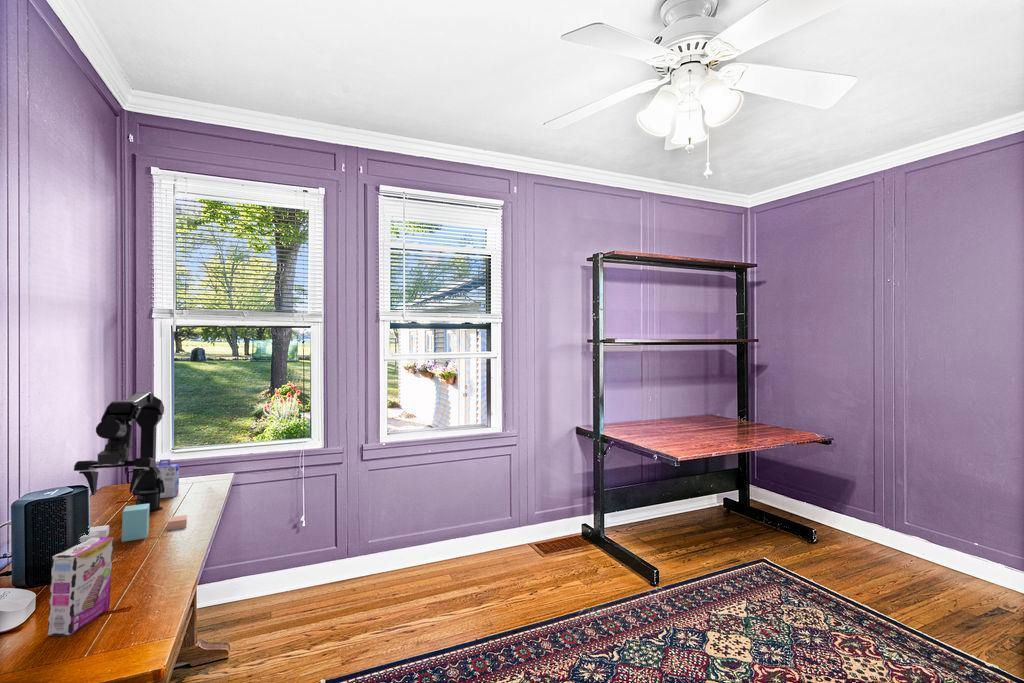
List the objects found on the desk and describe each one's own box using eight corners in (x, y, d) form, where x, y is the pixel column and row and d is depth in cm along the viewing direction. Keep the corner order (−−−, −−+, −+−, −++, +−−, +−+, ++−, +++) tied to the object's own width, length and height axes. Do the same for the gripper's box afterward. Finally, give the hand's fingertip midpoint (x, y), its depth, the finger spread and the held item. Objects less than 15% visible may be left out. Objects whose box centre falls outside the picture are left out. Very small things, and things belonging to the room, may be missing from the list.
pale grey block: (88, 540, 151) (88, 527, 151) (108, 537, 154) (109, 524, 154) (84, 546, 147) (84, 532, 147) (105, 543, 149) (106, 530, 150)
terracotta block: (168, 529, 162) (169, 517, 162) (186, 527, 164) (187, 515, 164) (167, 534, 157) (167, 521, 157) (185, 531, 160) (186, 519, 160)
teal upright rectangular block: (124, 535, 152) (125, 506, 152) (148, 531, 155) (149, 503, 155) (121, 541, 147) (122, 511, 147) (146, 538, 150) (147, 508, 150)
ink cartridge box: (179, 493, 201) (180, 458, 201) (175, 497, 196) (177, 460, 196) (150, 495, 197) (151, 459, 198) (145, 499, 192) (147, 462, 192)
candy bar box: (72, 636, 101) (75, 556, 102) (46, 637, 101) (49, 556, 101) (111, 608, 112) (114, 536, 113) (88, 608, 112) (91, 536, 112)
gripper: (69, 440, 141) (60, 497, 137) (147, 437, 148) (140, 491, 144) (85, 443, 151) (78, 496, 147) (158, 440, 158) (152, 491, 154)
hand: (112, 493), depth 148 cm, fingers open, 9 cm apart
